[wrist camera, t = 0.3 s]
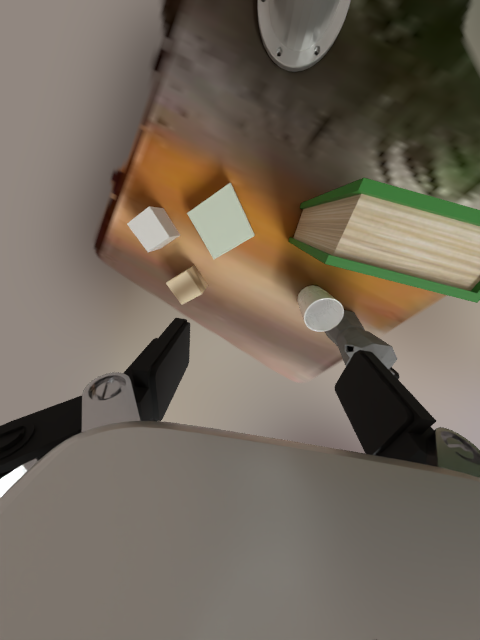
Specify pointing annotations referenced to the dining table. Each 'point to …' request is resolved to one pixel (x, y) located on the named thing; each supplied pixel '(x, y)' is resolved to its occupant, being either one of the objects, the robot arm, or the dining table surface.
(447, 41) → the dining table surface
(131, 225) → the grey cube
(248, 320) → the dining table surface
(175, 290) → the maple cube
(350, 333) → the coffeepot
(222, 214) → the base block
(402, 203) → the hardback book
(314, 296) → the white cup
